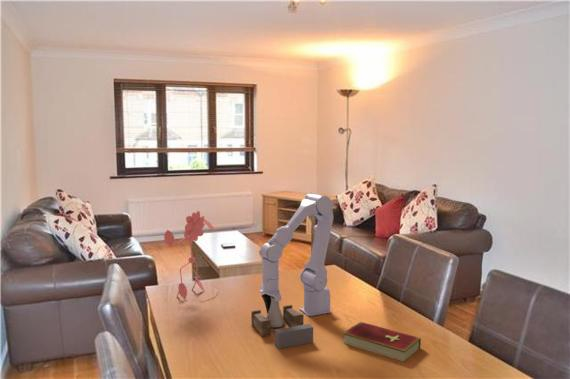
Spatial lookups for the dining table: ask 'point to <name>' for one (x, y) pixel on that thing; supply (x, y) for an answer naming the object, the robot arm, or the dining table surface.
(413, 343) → the hardcover book
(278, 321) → the flask
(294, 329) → the stop
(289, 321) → the housing
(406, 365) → the dining table surface
